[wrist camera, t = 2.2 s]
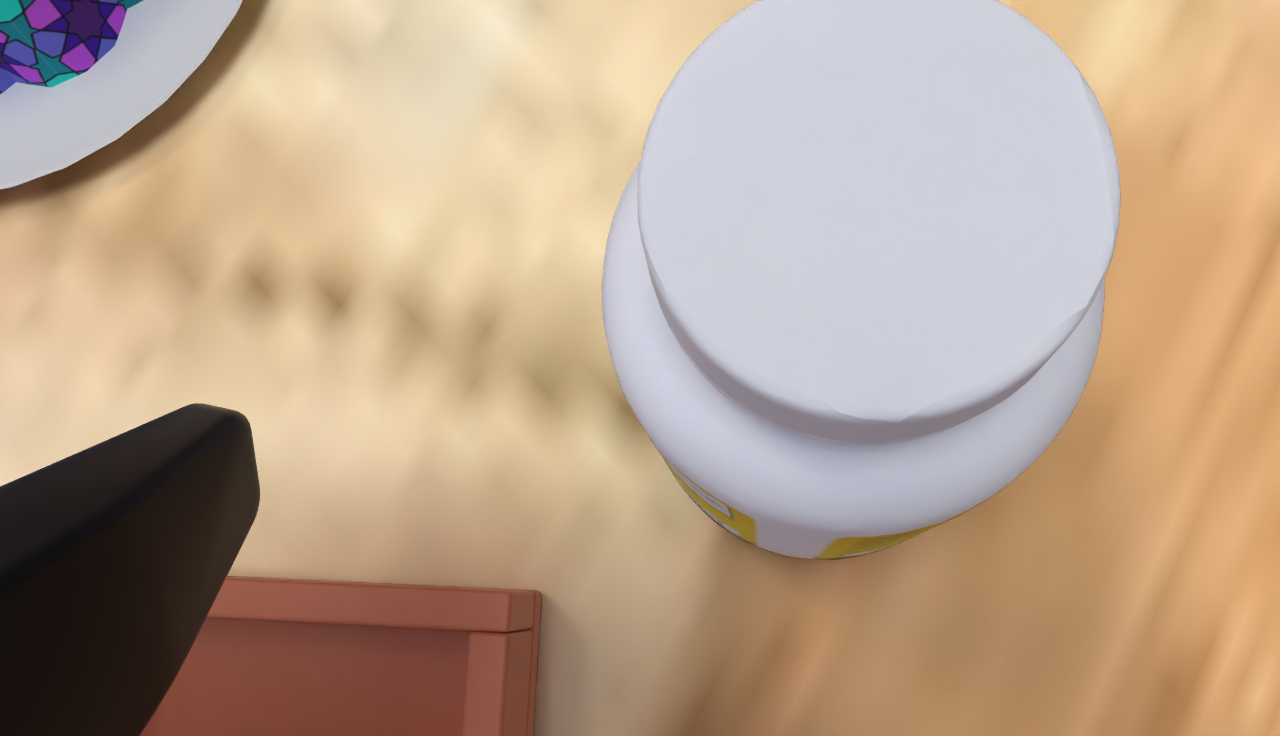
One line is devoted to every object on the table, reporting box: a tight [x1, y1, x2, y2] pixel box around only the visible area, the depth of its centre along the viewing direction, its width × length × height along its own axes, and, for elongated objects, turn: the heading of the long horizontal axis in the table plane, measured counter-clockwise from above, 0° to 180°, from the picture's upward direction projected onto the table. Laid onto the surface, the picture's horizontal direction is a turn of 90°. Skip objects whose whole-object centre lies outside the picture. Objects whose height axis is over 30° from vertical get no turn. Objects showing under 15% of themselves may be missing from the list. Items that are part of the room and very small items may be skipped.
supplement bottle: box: [602, 0, 1121, 560], centre depth 14 cm, size 5×5×10 cm
